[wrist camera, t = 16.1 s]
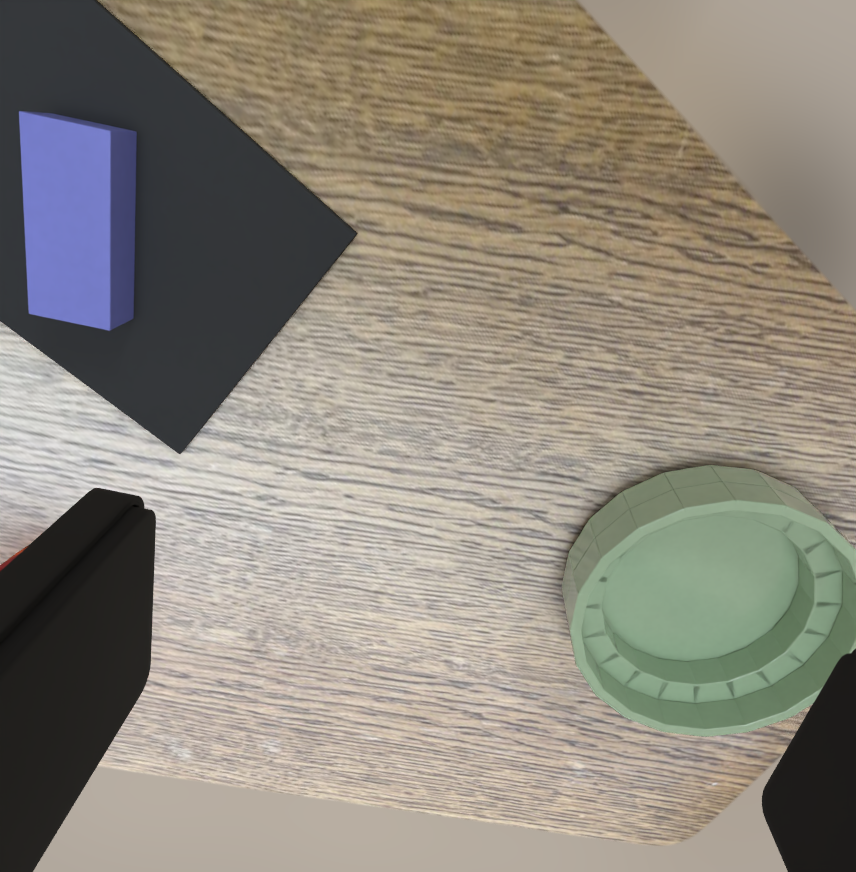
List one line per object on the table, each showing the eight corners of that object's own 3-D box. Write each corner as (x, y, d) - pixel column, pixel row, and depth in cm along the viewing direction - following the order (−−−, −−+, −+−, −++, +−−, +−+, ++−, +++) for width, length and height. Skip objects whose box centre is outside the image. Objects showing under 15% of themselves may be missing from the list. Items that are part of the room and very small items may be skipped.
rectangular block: (52, 113, 31) (17, 110, 29) (137, 131, 31) (110, 130, 29) (57, 302, 34) (28, 314, 32) (134, 318, 35) (110, 331, 32)
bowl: (711, 406, 35) (743, 441, 31) (886, 574, 38) (936, 626, 34) (508, 580, 40) (512, 631, 36) (678, 715, 43) (699, 775, 39)
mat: (-10, -95, 28) (-16, -98, 28) (357, 233, 32) (356, 234, 32) (-149, 205, 34) (-156, 206, 33) (182, 451, 38) (179, 454, 38)
